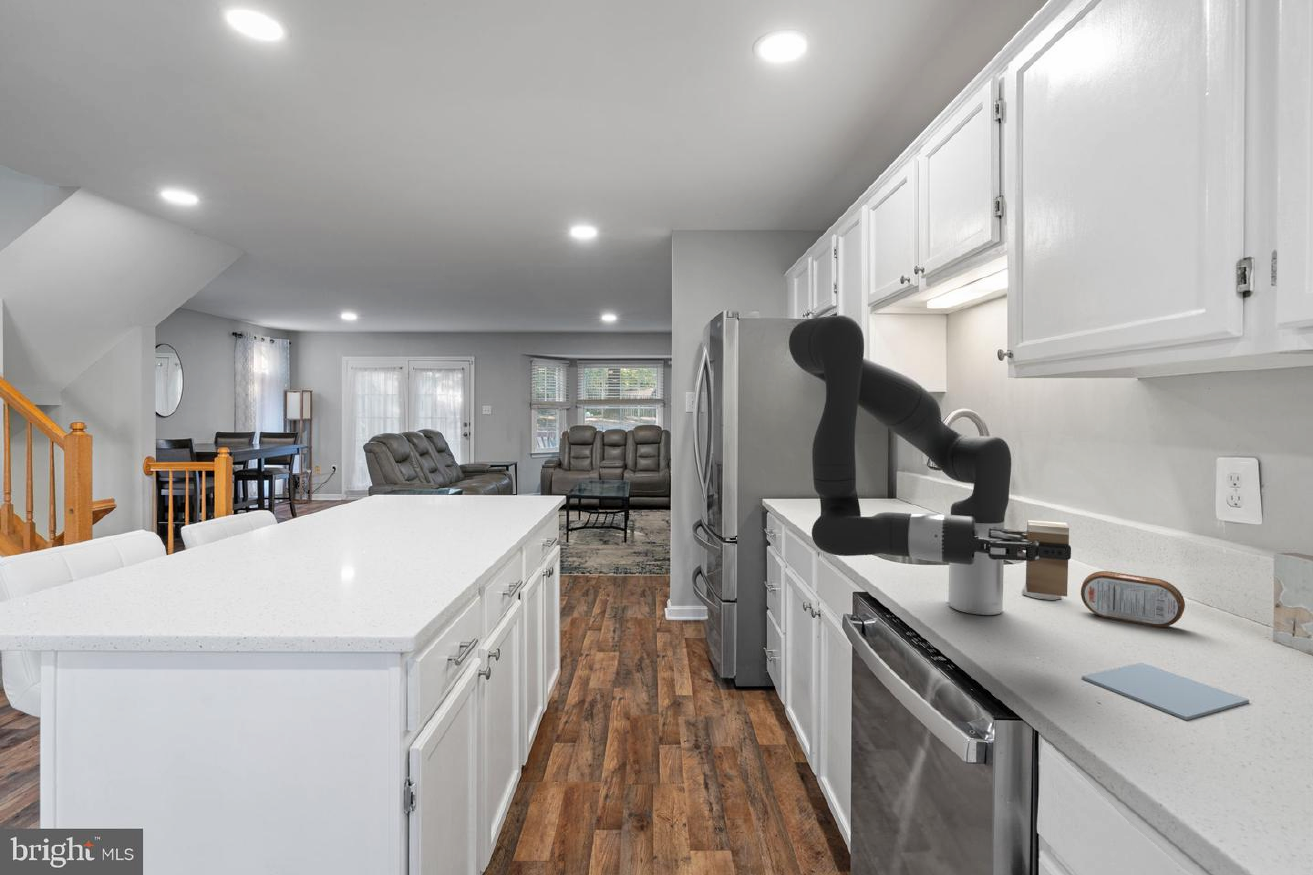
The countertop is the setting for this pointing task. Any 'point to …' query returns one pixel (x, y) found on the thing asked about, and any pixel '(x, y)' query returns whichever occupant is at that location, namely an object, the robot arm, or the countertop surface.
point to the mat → (1165, 690)
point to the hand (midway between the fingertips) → (1068, 548)
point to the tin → (1132, 598)
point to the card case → (1047, 560)
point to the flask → (1039, 595)
